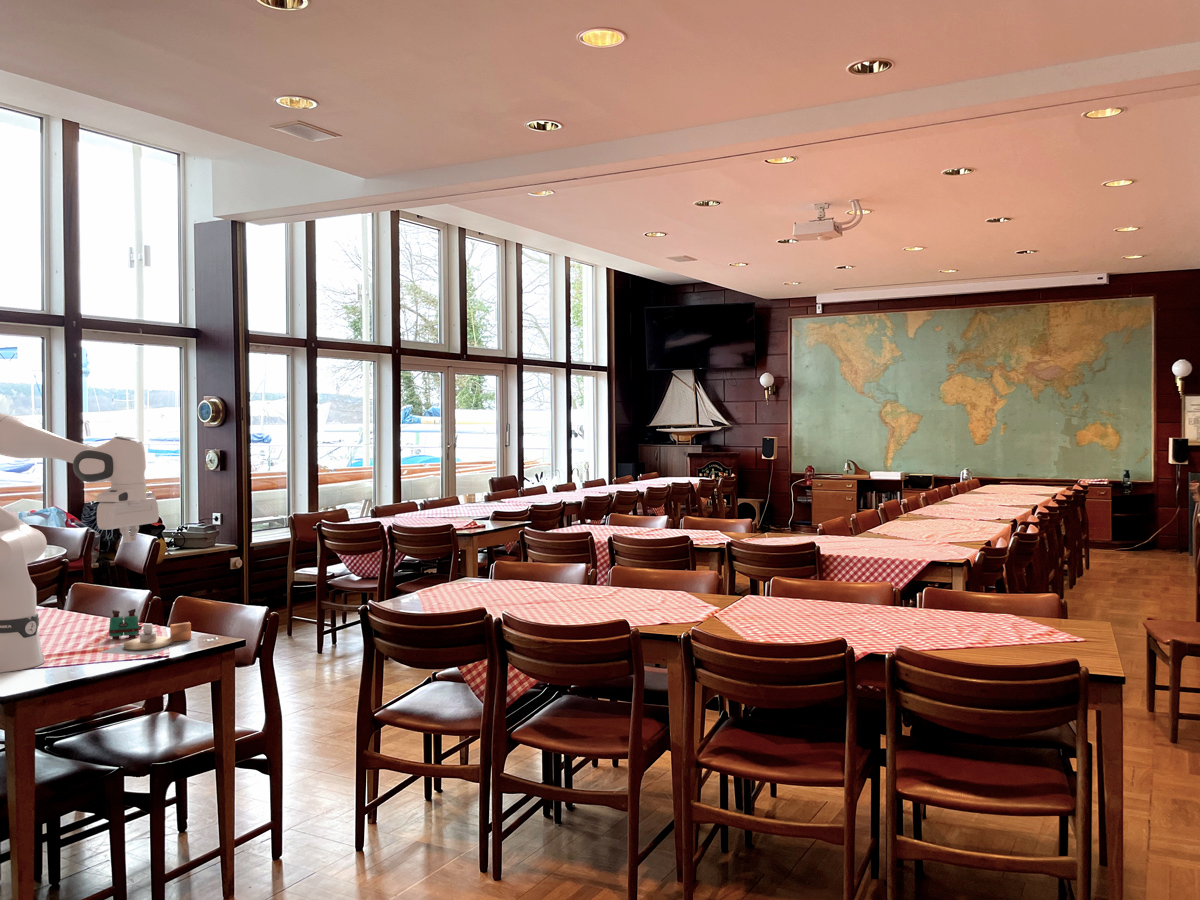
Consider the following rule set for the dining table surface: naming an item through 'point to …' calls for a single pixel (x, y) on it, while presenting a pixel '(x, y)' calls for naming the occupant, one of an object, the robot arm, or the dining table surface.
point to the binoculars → (124, 625)
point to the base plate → (147, 630)
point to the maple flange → (160, 638)
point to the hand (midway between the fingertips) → (129, 542)
